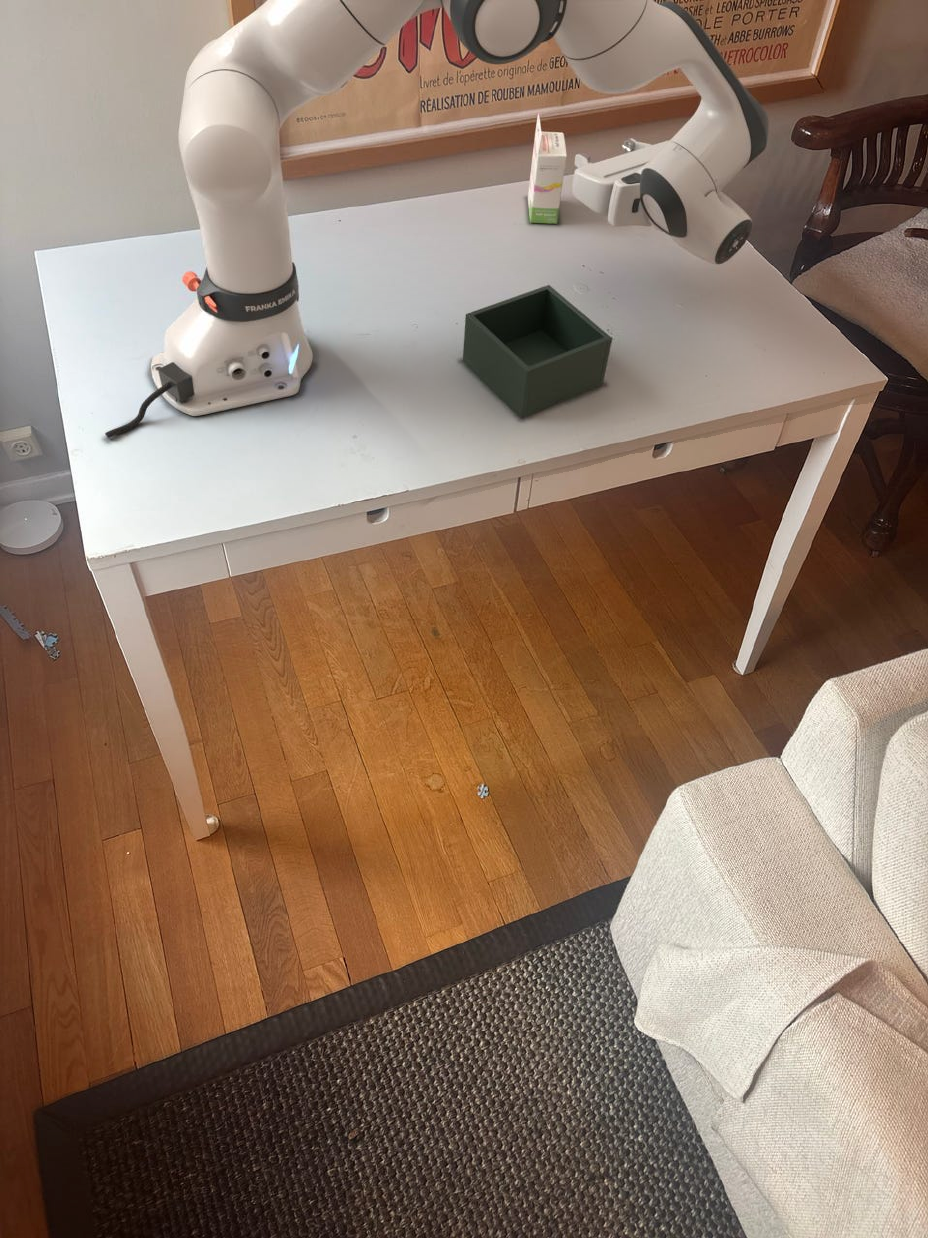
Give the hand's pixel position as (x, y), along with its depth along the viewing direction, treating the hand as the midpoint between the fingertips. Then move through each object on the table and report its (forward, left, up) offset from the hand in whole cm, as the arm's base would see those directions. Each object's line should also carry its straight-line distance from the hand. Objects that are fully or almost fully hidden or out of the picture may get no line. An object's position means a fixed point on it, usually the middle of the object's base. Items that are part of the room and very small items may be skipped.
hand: (602, 150), depth 149 cm
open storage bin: (-28, -23, -16) cm, 39 cm away
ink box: (0, +12, -16) cm, 20 cm away
